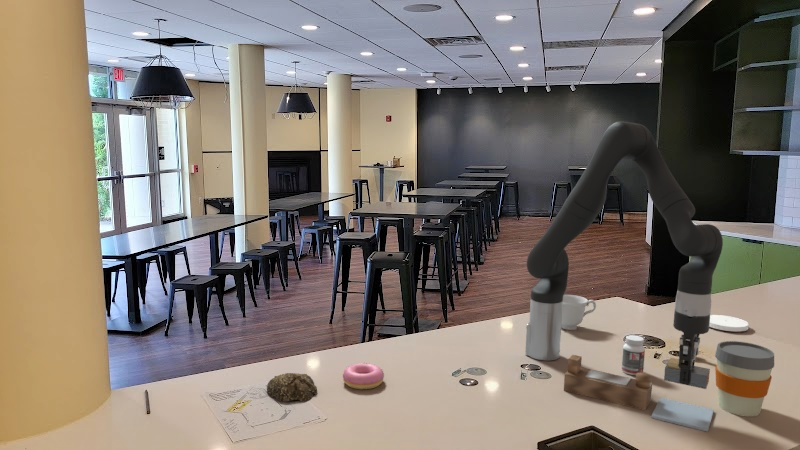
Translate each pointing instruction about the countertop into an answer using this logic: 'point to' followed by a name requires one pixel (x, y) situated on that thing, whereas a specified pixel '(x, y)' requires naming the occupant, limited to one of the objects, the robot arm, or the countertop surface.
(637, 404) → the plane body
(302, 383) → the mossy brown rock
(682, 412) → the rubber mat
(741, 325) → the plastic lid
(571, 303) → the teacup
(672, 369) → the lever cap
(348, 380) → the doughnut
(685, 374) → the robot arm
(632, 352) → the pill bottle
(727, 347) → the reusable coffee cup
